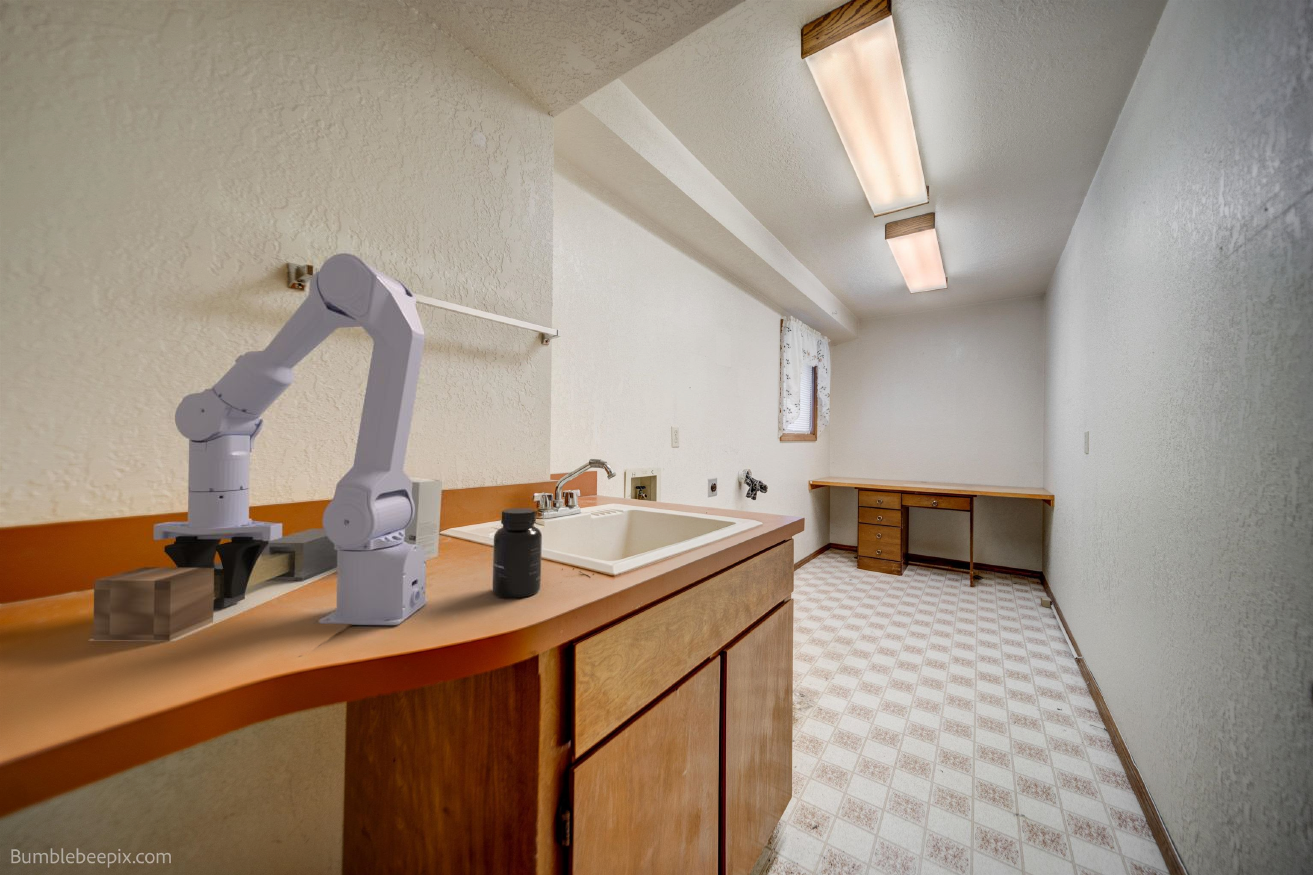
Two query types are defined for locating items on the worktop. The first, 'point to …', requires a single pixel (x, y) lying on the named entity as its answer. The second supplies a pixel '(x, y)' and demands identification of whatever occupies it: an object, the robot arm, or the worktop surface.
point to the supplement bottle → (517, 555)
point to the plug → (252, 574)
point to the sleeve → (305, 554)
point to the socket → (153, 603)
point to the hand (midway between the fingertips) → (218, 595)
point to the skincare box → (425, 515)
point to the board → (252, 599)
